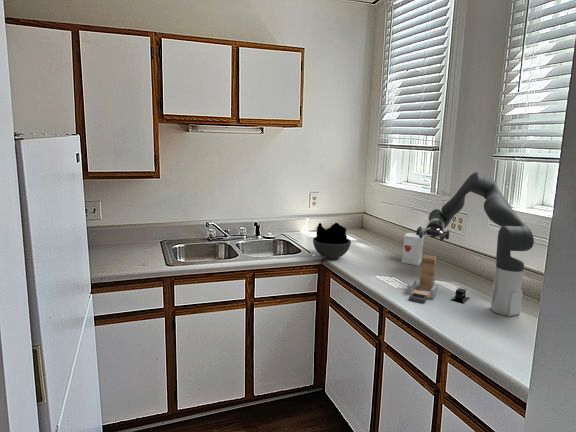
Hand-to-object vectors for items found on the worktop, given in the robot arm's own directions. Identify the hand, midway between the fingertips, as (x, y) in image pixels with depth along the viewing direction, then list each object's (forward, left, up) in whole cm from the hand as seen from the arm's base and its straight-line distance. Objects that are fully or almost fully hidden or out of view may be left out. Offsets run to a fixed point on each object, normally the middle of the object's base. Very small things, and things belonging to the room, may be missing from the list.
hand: (431, 237), depth 189 cm
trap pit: (-15, +19, -21) cm, 32 cm away
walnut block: (-6, +6, -21) cm, 22 cm away
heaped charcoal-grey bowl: (+48, +21, -21) cm, 57 cm away
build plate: (-21, +2, -22) cm, 30 cm away
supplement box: (+27, -16, -21) cm, 38 cm away
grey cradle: (-11, +13, -21) cm, 27 cm away
